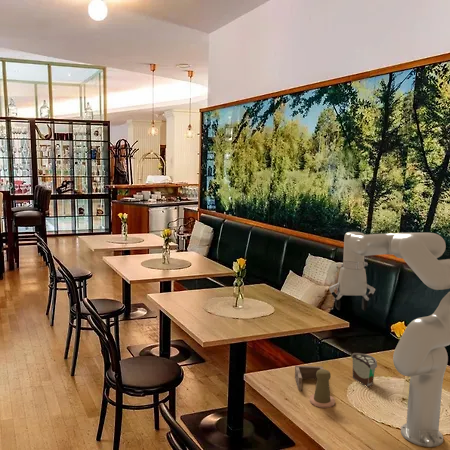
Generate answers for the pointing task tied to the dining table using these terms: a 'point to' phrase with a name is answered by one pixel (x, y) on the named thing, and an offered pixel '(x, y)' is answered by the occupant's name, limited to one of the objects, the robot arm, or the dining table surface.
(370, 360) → the food container
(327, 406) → the terracotta coaster
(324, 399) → the olive peg doll
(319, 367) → the walnut shelf bay
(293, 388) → the dining table surface
